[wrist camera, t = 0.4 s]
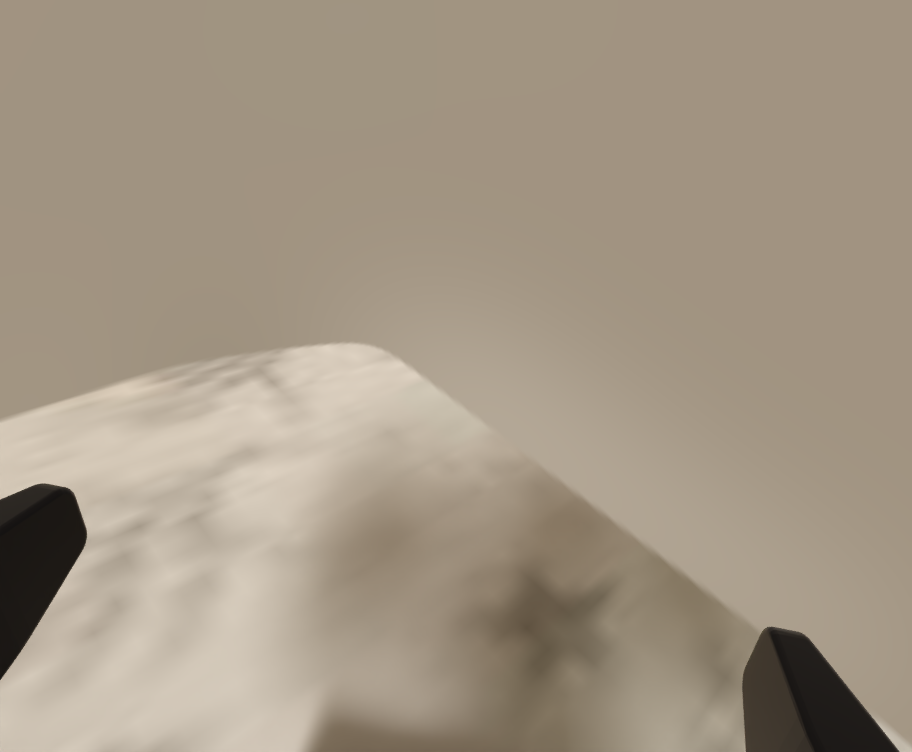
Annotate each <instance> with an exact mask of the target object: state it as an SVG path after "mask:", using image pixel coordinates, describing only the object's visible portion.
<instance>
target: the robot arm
mask: <svg viewBox="0 0 912 752" xmlns="http://www.w3.org/2000/svg"><path fill="white" fill-rule="evenodd" d="M86 539H87V530H86V526H85V523H84V520H83V518H82V515H81V512H80V509H79V506H78V503H77V500H76V497H75V495H74V493H73V492H72V491H71V490H70V489H68V488H66V487H61V486H56V485H51V484H37V485H34V486H31V487H29V488H27V489H24V490H22V491H20V492H17V493H15V494H12V495H10V496H8V497H5V498H3V499H1V500H0V680H1V678H2V677H3V676H4V674H5V673H6V672H7V670H8V669H9V668H10V666H11V665H12V663H13V662H14V660H15V659H16V658H17V656H18V655H19V653H20V652H21V650H22V649H23V647H24V646H25V644H26V643H27V641H28V639H29V638H30V636H31V635H32V633H33V632H34V630H35V628H36V627H37V625H38V623H39V622H40V620H41V618H42V617H43V615H44V613H45V612H46V610H47V608H48V607H49V605H50V603H51V602H52V600H53V598H54V597H55V595H56V594H57V592H58V590H59V589H60V587H61V585H62V584H63V582H64V580H65V579H66V577H67V575H68V574H69V572H70V570H71V569H72V567H73V565H74V564H75V562H76V560H77V559H78V557H79V555H80V554H81V552H82V550H83V548H84V546H85V543H86ZM742 692H743V709H744V726H745V743H746V752H899V750H898V749H897V748H896V747H895V745H894V744H893V743H892V742H891V740H890V739H889V738H888V737H887V735H886V734H885V733H884V732H883V730H882V729H881V728H880V727H879V725H878V724H877V723H876V722H875V720H874V719H873V718H872V717H871V715H870V714H869V713H868V712H867V710H866V709H865V708H864V707H863V705H862V704H861V703H860V702H859V700H858V699H857V698H856V697H855V695H854V694H853V693H852V692H851V691H850V689H849V688H848V687H847V685H846V684H845V683H844V682H843V680H842V679H841V678H840V677H839V676H838V674H837V673H836V672H835V670H834V669H833V668H832V667H831V665H830V664H829V663H828V662H827V660H826V659H825V658H824V657H823V655H822V654H821V653H820V652H819V650H818V649H817V648H816V647H815V645H814V644H813V643H812V642H811V641H810V639H809V638H808V637H806V636H805V635H804V634H802V633H800V632H796V631H791V630H786V629H781V628H775V627H767V628H765V629H764V630H763V631H762V633H761V635H760V637H759V639H758V641H757V643H756V645H755V648H754V650H753V652H752V654H751V656H750V658H749V661H748V663H747V665H746V667H745V670H744V674H743V683H742Z"/></svg>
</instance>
